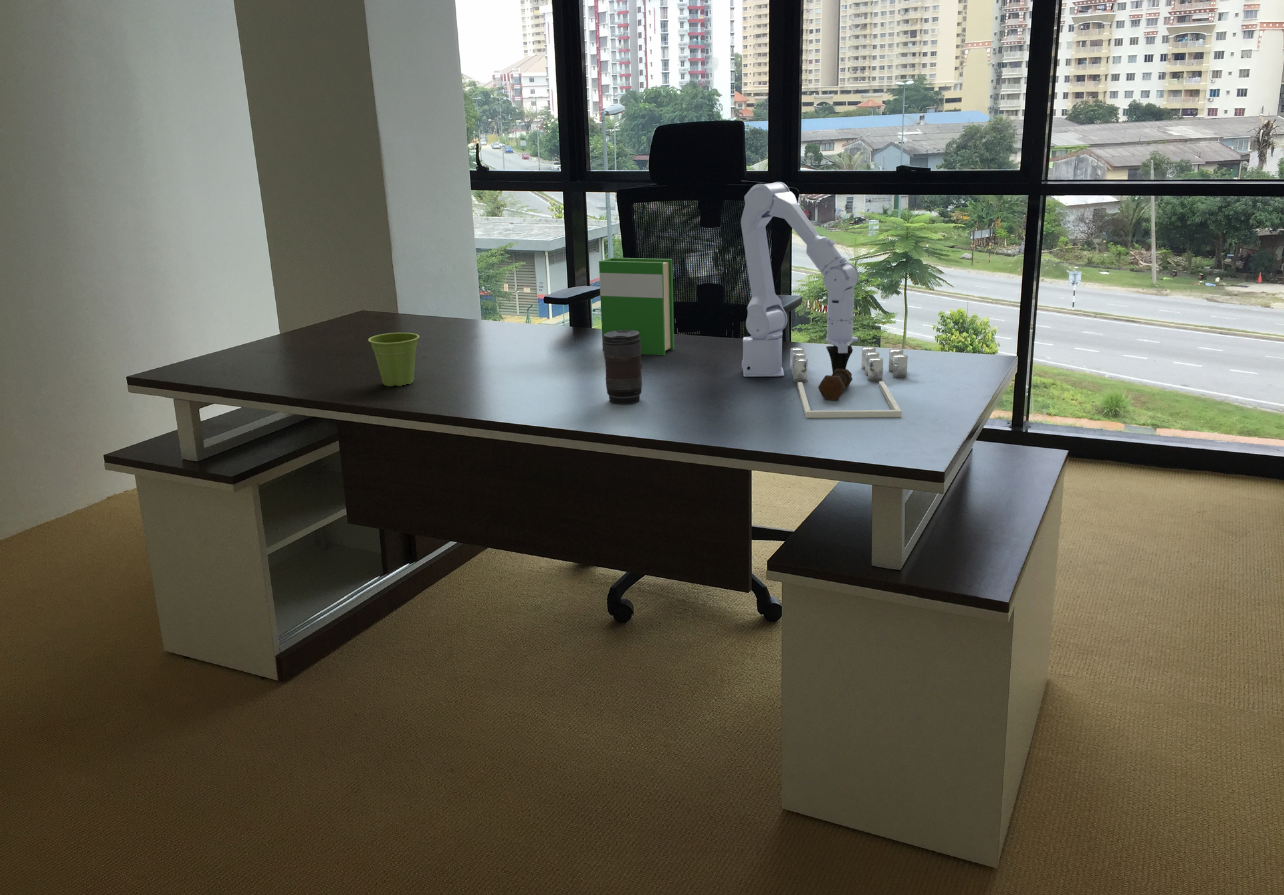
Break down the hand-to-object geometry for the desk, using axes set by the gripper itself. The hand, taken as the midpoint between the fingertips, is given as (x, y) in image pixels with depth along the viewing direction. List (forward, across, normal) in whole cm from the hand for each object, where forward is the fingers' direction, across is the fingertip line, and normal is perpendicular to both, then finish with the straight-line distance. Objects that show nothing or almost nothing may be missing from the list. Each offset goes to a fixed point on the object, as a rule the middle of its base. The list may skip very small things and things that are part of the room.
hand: (838, 377), depth 234 cm
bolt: (+1, -9, +1) cm, 9 cm away
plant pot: (+1, +4, +104) cm, 104 cm away
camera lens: (+1, -14, +48) cm, 50 cm away
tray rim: (+1, -16, 0) cm, 16 cm away
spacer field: (+1, +8, -3) cm, 8 cm away
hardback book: (+1, +38, +49) cm, 62 cm away
